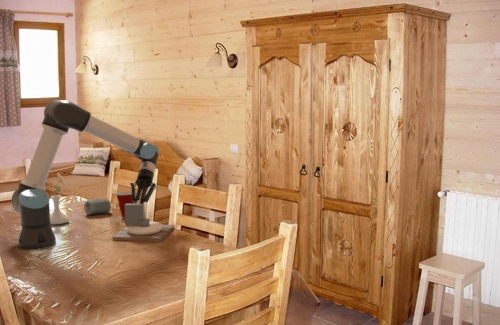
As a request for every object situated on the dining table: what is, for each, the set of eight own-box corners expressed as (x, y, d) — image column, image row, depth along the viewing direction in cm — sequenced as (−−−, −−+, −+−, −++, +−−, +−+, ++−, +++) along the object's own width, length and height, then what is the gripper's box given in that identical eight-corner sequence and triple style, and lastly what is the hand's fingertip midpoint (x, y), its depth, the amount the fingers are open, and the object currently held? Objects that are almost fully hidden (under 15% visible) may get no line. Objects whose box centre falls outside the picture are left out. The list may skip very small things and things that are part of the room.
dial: (166, 225, 258) (165, 201, 256) (156, 235, 242) (155, 209, 240) (132, 224, 260) (131, 200, 258) (120, 234, 244) (119, 208, 243)
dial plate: (160, 241, 239) (160, 237, 239) (112, 240, 242) (112, 236, 242) (174, 228, 261) (174, 224, 260) (129, 226, 264) (129, 223, 263)
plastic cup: (135, 211, 295) (134, 189, 293) (139, 215, 285) (138, 193, 283) (114, 213, 290) (113, 191, 289) (118, 217, 281) (117, 195, 279)
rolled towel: (84, 211, 281) (87, 193, 284) (81, 216, 289) (84, 198, 292) (110, 215, 285) (113, 197, 289) (107, 219, 294) (110, 202, 297)
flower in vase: (62, 227, 264) (58, 176, 260) (40, 225, 267) (37, 175, 263) (75, 220, 277) (72, 171, 273) (55, 219, 279) (52, 170, 275)
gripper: (161, 177, 272) (151, 218, 258) (135, 176, 274) (125, 217, 260) (157, 168, 266) (148, 210, 252) (131, 168, 268) (120, 209, 254)
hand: (136, 213), depth 256 cm, fingers closed
